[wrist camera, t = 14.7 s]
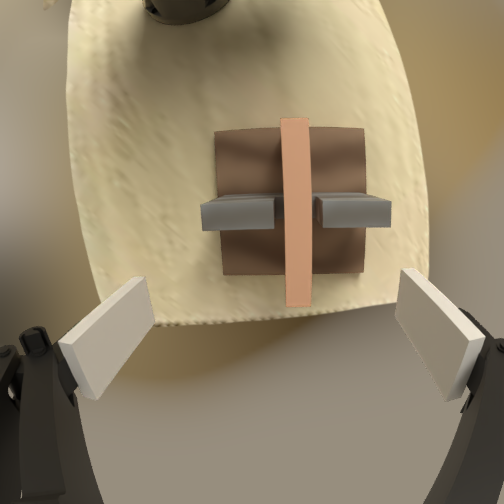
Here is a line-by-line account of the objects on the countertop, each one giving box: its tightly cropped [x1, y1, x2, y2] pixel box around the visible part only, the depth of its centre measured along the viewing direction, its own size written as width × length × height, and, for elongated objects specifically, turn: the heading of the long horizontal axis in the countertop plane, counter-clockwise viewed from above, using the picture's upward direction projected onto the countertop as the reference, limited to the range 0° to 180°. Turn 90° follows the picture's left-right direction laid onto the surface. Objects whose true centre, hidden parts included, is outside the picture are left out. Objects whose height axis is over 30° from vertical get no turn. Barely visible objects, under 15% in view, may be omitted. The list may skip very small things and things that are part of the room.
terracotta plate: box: [280, 118, 312, 307], centre depth 32 cm, size 18×2×12 cm, turn 3°
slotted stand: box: [201, 127, 391, 275], centre depth 32 cm, size 20×20×14 cm
